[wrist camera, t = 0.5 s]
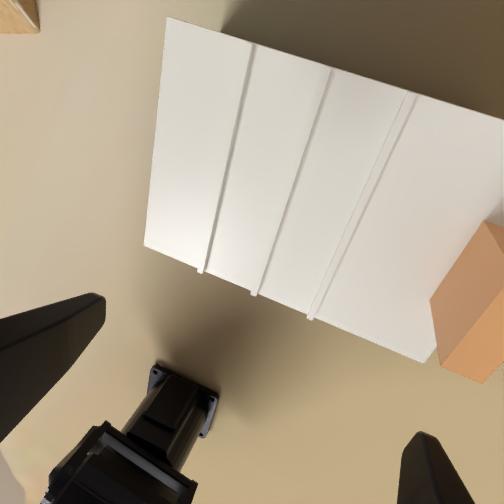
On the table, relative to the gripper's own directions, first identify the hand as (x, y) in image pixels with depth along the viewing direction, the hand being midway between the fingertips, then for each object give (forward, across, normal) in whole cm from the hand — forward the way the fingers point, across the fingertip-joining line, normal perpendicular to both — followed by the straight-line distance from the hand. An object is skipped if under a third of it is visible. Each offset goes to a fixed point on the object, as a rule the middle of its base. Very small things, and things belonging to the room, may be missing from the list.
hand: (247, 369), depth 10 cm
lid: (+8, 0, -2) cm, 9 cm away
